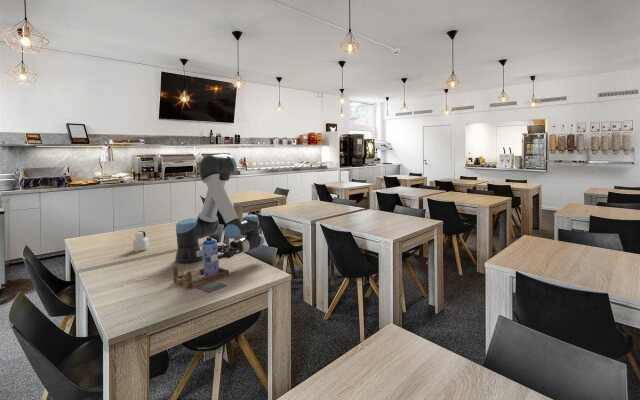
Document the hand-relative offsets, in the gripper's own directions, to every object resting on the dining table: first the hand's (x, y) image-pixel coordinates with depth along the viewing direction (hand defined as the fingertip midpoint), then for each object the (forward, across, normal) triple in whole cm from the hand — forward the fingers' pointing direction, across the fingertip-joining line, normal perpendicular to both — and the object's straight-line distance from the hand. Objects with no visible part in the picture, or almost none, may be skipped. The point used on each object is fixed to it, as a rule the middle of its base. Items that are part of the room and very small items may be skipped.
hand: (204, 256), depth 172 cm
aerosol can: (-4, 0, -11) cm, 12 cm away
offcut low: (+7, 0, -11) cm, 14 cm away
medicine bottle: (-4, +80, -11) cm, 81 cm away
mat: (+5, -13, -11) cm, 18 cm away
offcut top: (+7, 0, -8) cm, 11 cm away
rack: (+2, 0, -11) cm, 11 cm away
